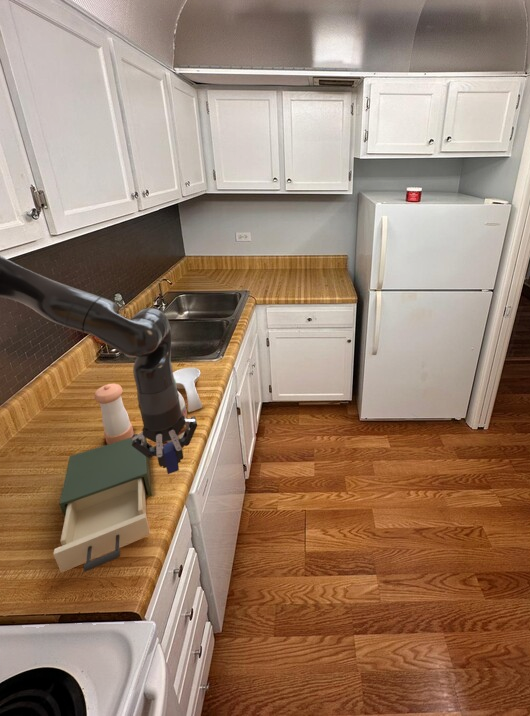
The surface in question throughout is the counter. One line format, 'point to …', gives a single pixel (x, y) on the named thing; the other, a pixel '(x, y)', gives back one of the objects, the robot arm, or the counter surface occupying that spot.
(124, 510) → the drawer
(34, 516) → the counter surface
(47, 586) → the counter surface
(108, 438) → the salt shaker
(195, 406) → the white curved piece
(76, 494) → the cabinet
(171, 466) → the blue block with post
